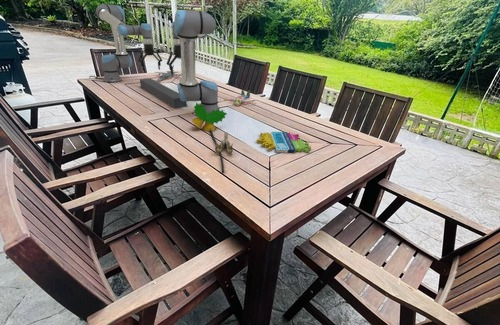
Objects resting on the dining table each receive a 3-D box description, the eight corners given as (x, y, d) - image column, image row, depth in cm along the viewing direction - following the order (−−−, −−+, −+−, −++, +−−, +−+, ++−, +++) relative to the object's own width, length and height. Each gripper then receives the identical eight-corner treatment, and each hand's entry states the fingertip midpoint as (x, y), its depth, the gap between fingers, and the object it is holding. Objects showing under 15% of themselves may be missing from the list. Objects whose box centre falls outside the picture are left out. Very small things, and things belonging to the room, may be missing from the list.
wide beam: (186, 106, 200) (186, 96, 197) (174, 108, 195) (173, 98, 191) (151, 86, 246) (150, 78, 243) (140, 87, 241) (139, 79, 237)
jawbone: (234, 135, 144) (233, 125, 135) (233, 160, 138) (232, 151, 129) (217, 135, 144) (216, 125, 135) (216, 160, 138) (214, 150, 129)
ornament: (218, 133, 171) (224, 110, 169) (221, 134, 163) (227, 111, 161) (186, 125, 162) (192, 101, 160) (189, 126, 155) (195, 101, 153)
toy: (261, 91, 228) (254, 99, 202) (261, 99, 231) (253, 108, 205) (231, 87, 233) (220, 95, 207) (230, 95, 236) (219, 104, 210)
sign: (313, 150, 142) (258, 149, 139) (312, 153, 143) (258, 152, 140) (301, 132, 164) (254, 130, 161) (301, 134, 165) (254, 133, 162)
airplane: (149, 74, 288) (148, 65, 283) (178, 73, 302) (177, 64, 297) (156, 83, 260) (154, 73, 255) (187, 81, 273) (186, 71, 268)
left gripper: (162, 43, 232) (164, 68, 242) (132, 43, 221) (136, 69, 231) (164, 44, 226) (166, 69, 237) (133, 44, 215) (137, 71, 225)
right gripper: (194, 44, 204) (195, 72, 214) (160, 44, 194) (163, 73, 204) (196, 45, 198) (197, 74, 208) (162, 45, 188) (165, 75, 198)
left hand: (151, 69), depth 234 cm, fingers open, 13 cm apart
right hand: (180, 74), depth 206 cm, fingers open, 13 cm apart
